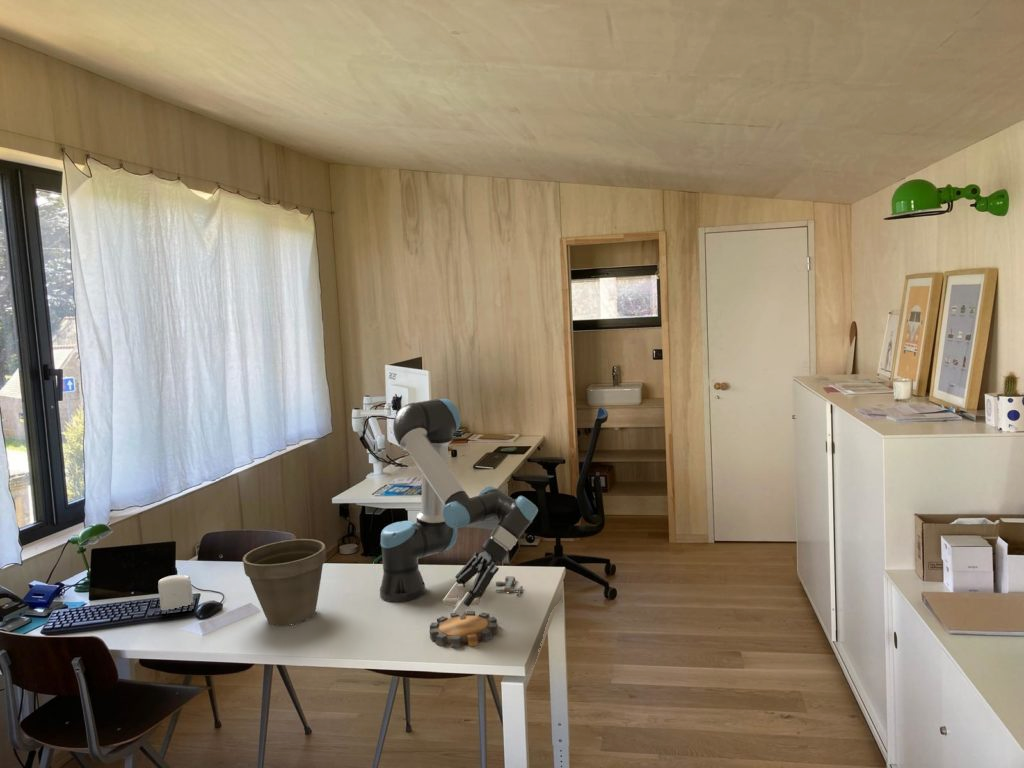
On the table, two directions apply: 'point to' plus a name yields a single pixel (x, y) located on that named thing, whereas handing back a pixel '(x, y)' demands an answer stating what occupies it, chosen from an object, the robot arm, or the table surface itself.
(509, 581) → the clamp
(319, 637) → the table surface
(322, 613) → the table surface
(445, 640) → the sprocket wheel
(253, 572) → the plant pot
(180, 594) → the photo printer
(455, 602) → the pipe connector
